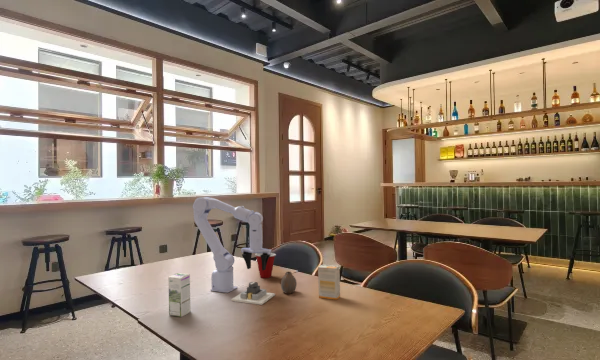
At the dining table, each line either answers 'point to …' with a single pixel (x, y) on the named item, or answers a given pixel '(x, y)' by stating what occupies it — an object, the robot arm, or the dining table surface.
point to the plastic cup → (269, 267)
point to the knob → (252, 289)
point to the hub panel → (254, 297)
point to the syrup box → (179, 294)
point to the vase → (288, 283)
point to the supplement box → (329, 281)
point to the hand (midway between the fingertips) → (256, 269)
